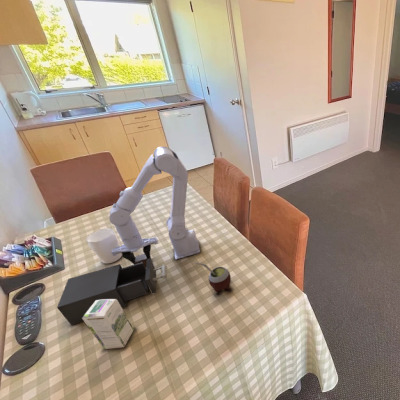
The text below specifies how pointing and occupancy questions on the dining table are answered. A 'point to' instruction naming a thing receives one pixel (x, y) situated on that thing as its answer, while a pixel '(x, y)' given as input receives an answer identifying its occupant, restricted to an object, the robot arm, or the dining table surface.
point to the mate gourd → (218, 278)
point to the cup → (104, 244)
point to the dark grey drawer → (138, 279)
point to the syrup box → (108, 323)
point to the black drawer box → (89, 292)
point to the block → (141, 259)
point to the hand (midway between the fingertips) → (143, 262)
